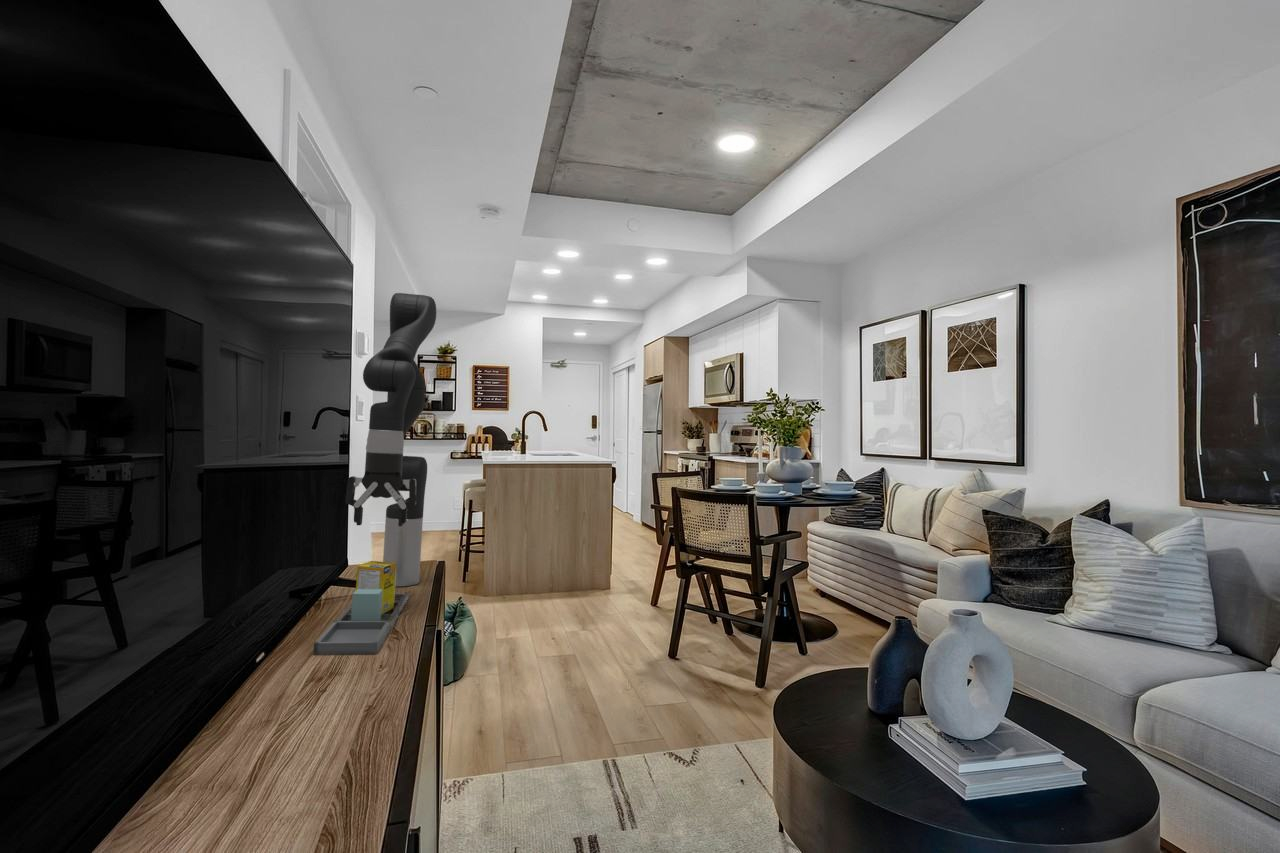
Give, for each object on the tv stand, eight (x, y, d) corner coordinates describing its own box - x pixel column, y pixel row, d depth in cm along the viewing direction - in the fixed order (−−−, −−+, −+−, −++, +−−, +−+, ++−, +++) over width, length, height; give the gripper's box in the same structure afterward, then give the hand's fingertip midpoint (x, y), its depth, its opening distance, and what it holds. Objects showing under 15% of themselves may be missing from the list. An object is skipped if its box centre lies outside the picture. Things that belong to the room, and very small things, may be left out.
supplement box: (393, 611, 141) (397, 562, 141) (380, 619, 135) (383, 567, 135) (368, 609, 142) (371, 560, 142) (353, 616, 136) (357, 565, 136)
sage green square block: (355, 623, 131) (357, 588, 132) (380, 622, 132) (382, 589, 133) (350, 628, 128) (352, 593, 128) (376, 628, 129) (379, 593, 129)
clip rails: (360, 599, 149) (361, 592, 150) (408, 599, 152) (408, 592, 152) (332, 631, 125) (333, 623, 125) (389, 631, 127) (390, 623, 127)
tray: (333, 631, 125) (334, 621, 125) (389, 630, 127) (390, 620, 127) (313, 654, 112) (314, 643, 112) (376, 653, 114) (377, 642, 114)
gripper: (421, 452, 144) (416, 524, 144) (354, 449, 141) (349, 522, 141) (416, 453, 137) (411, 528, 137) (345, 449, 134) (340, 527, 134)
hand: (379, 525), depth 139 cm, fingers open, 8 cm apart
